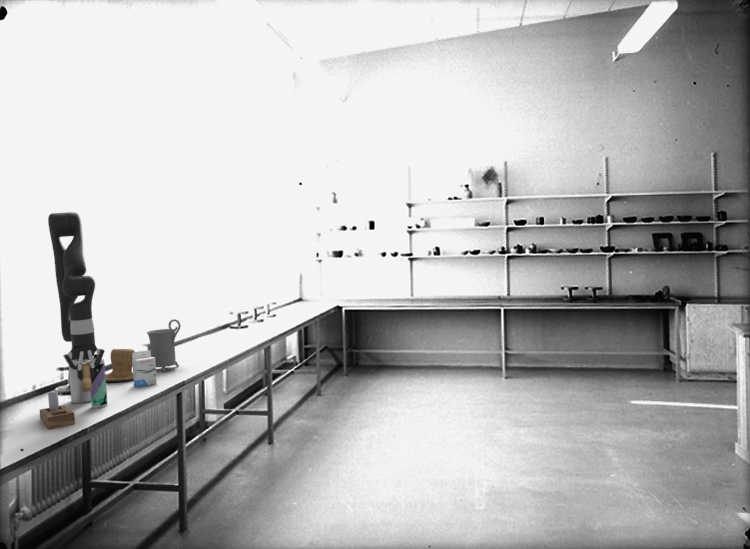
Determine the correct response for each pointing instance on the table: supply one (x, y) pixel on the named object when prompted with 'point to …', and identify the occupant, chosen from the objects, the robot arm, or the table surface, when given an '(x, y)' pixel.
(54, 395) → the grey peg
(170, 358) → the mug
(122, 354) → the tan ankle boot
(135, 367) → the ink box
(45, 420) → the walnut block
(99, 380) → the spray can
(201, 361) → the table surface
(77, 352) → the robot arm
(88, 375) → the oak peg
